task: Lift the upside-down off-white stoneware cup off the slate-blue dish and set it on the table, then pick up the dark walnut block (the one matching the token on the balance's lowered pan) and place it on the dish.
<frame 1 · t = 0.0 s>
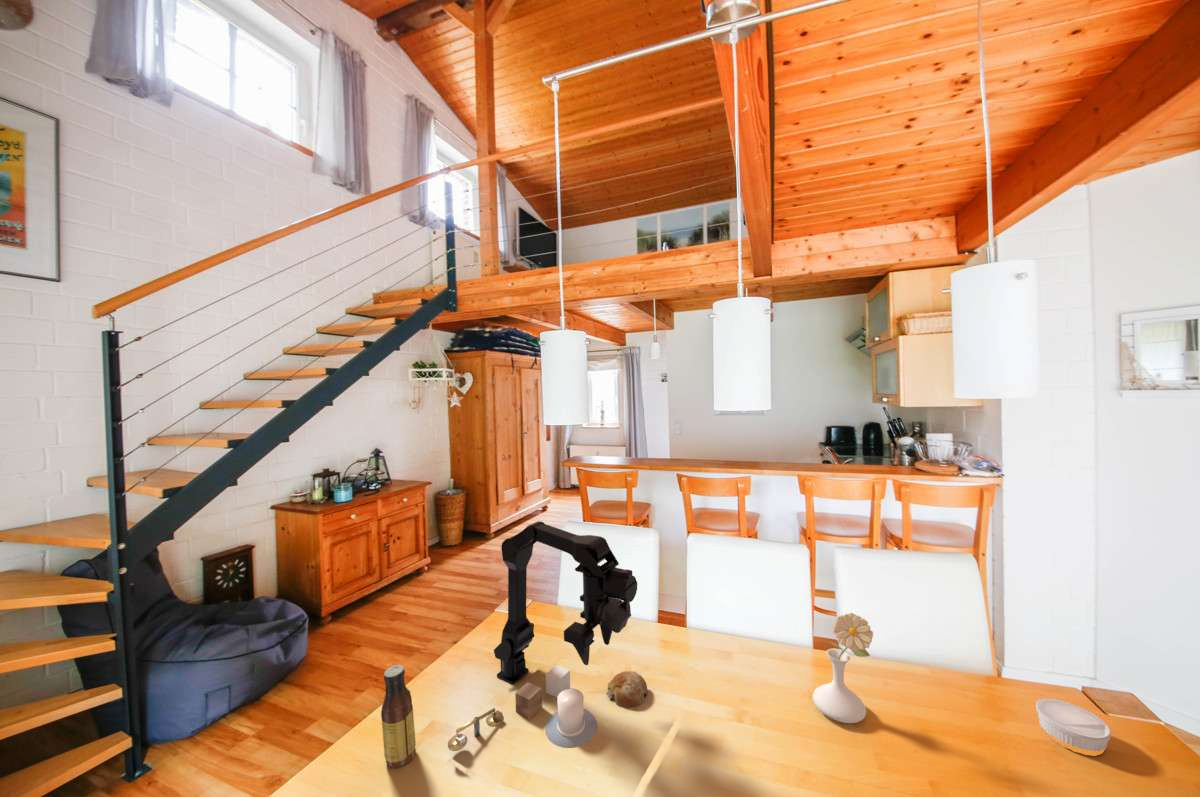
hand: (596, 654, 106), 15 cm above the table, fingers open, 9 cm apart
dish: (571, 731, 101), on the table
walnut block: (529, 714, 107), on the table
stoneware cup: (571, 726, 101), point 1 cm above the table, touching dish
ramekin: (1071, 740, 95), on the table
balance: (477, 740, 99), on the table
bread roll: (627, 699, 111), on the table
sauce bottle: (399, 758, 95), on the table
flower in vase: (842, 712, 105), on the table
beige block: (558, 694, 113), on the table
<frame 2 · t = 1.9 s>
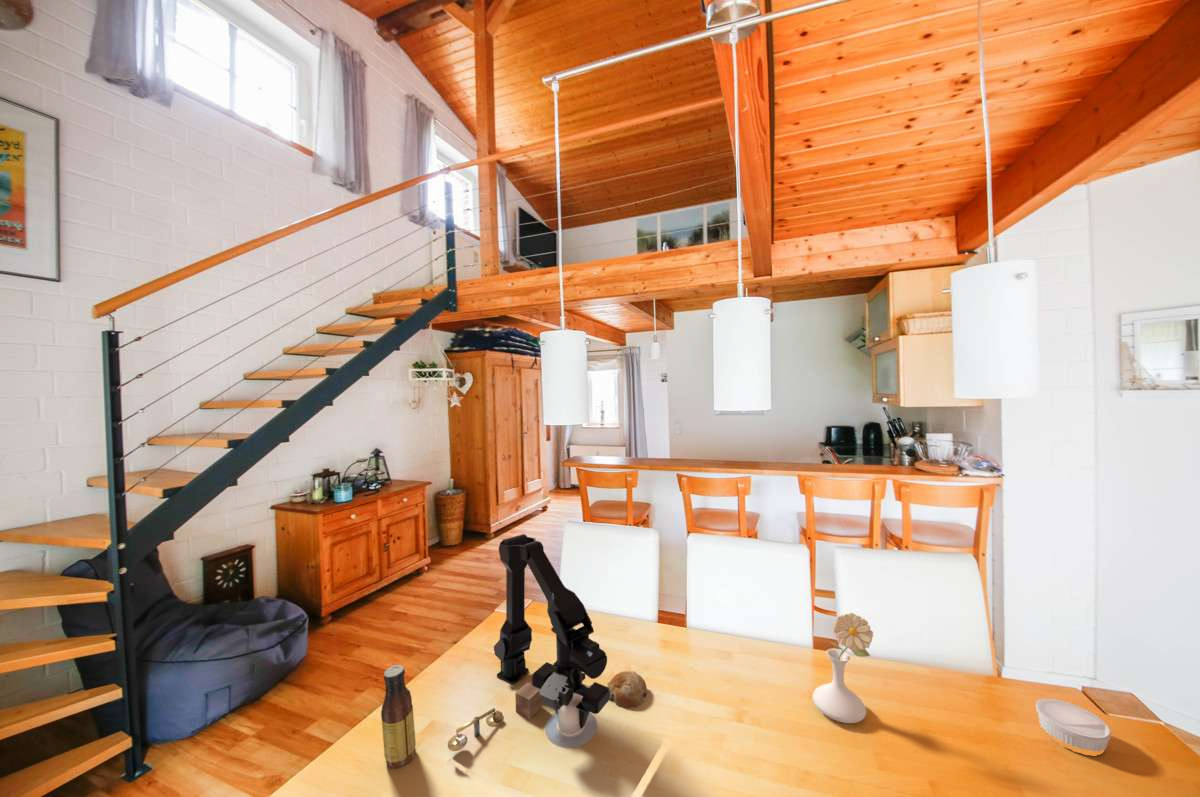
hand: (571, 721, 101), 2 cm above the table, fingers closed on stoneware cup, 6 cm apart
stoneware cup: (571, 726, 101), point 1 cm above the table, touching dish, gripper
everything else where it was.
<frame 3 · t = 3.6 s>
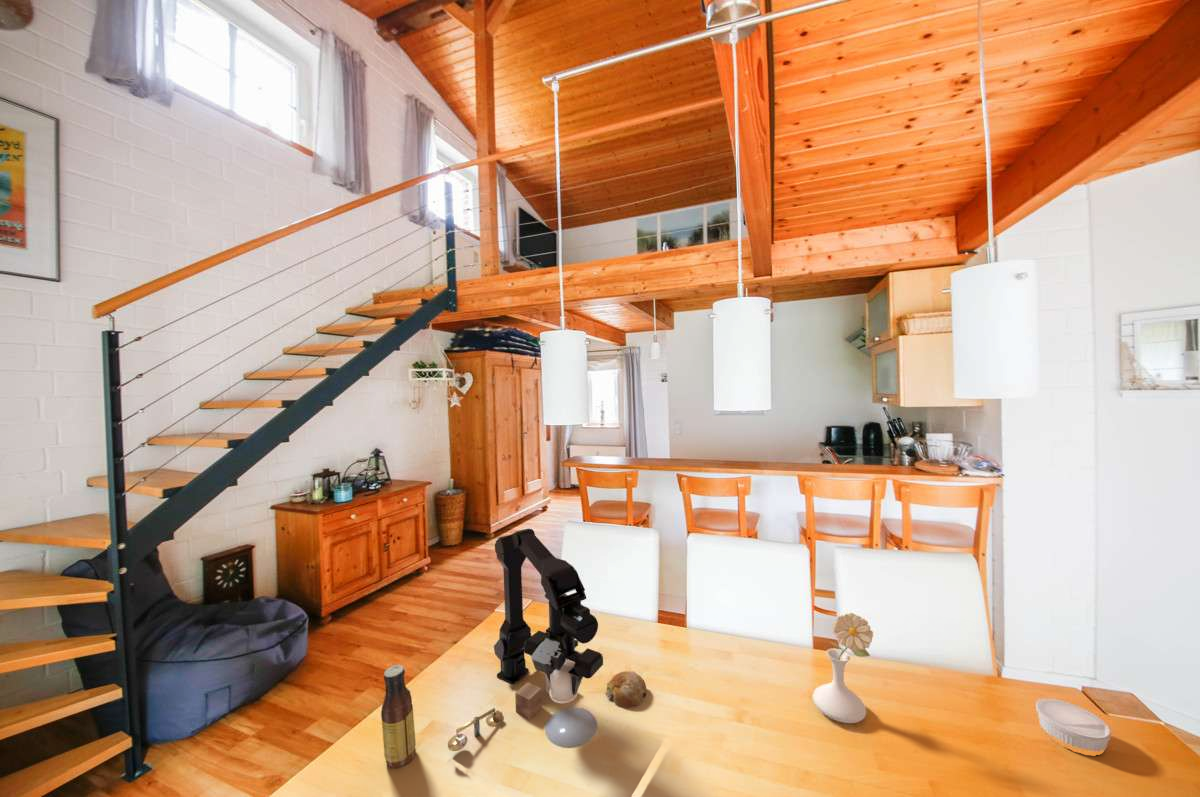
hand: (563, 688, 100), 11 cm above the table, fingers closed on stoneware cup, 6 cm apart
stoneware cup: (563, 693, 100), point 10 cm above the table, touching gripper
everything else where it was.
when the fingers open (3 cm above the table, at t = 5.5 s): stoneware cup drops 2 cm, on the table.
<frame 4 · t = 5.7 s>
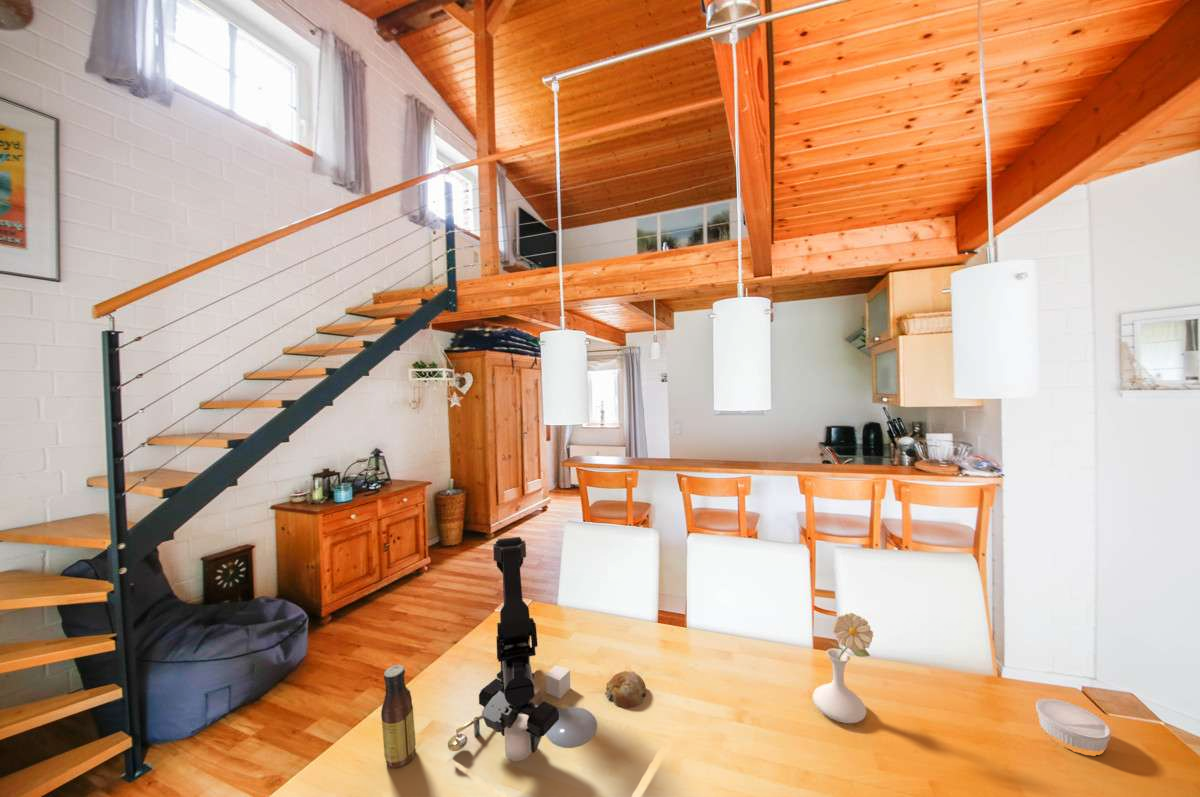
hand: (519, 742, 95), 3 cm above the table, fingers open, 8 cm apart
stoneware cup: (519, 754, 95), on the table
everything else where it was.
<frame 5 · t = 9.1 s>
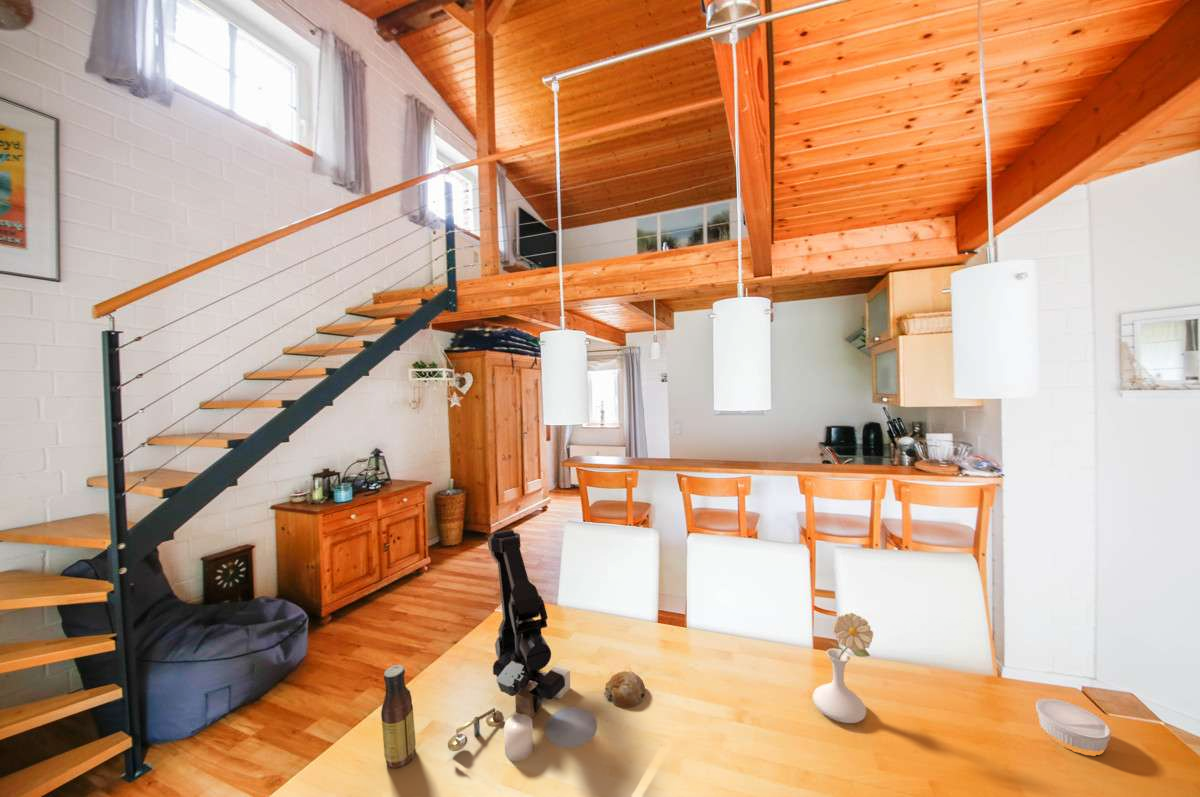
hand: (529, 708, 107), 2 cm above the table, fingers closed on walnut block, 4 cm apart
walnut block: (529, 714, 107), on the table, touching gripper
everything else where it was.
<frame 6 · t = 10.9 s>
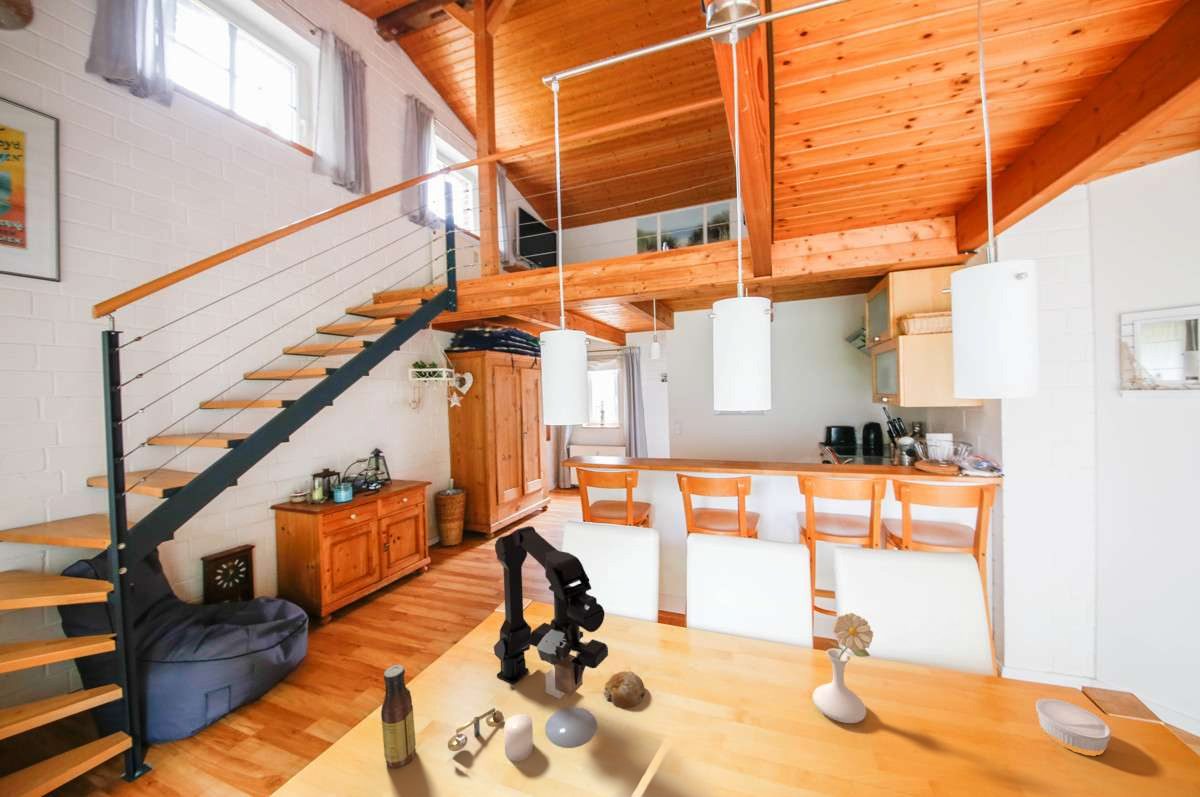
hand: (569, 680, 101), 12 cm above the table, fingers closed on walnut block, 4 cm apart
walnut block: (569, 686, 101), point 11 cm above the table, touching gripper
everything else where it was.
when the fingers open (4 cm above the table, at t = 12.7 s): walnut block drops 1 cm, resting on dish.
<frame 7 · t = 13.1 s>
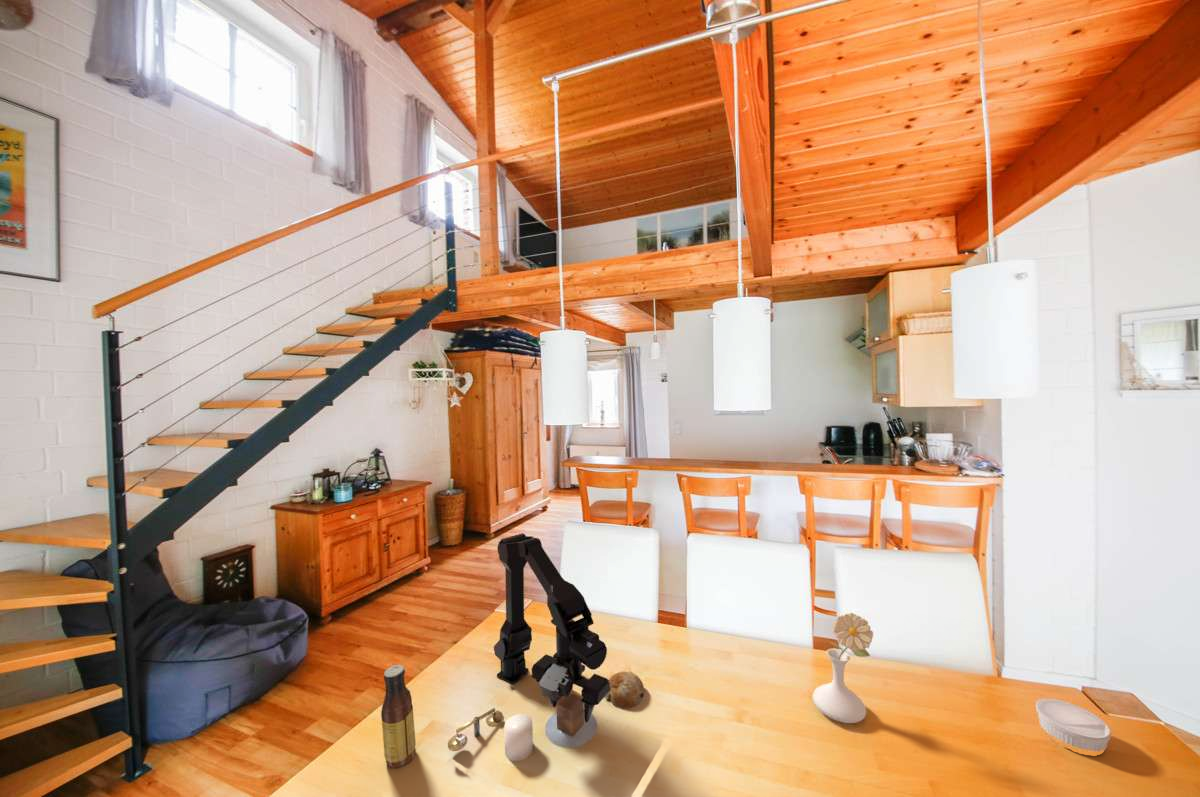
hand: (570, 713, 101), 4 cm above the table, fingers open, 9 cm apart
walnut block: (570, 726, 101), point 1 cm above the table, touching dish
everything else where it was.
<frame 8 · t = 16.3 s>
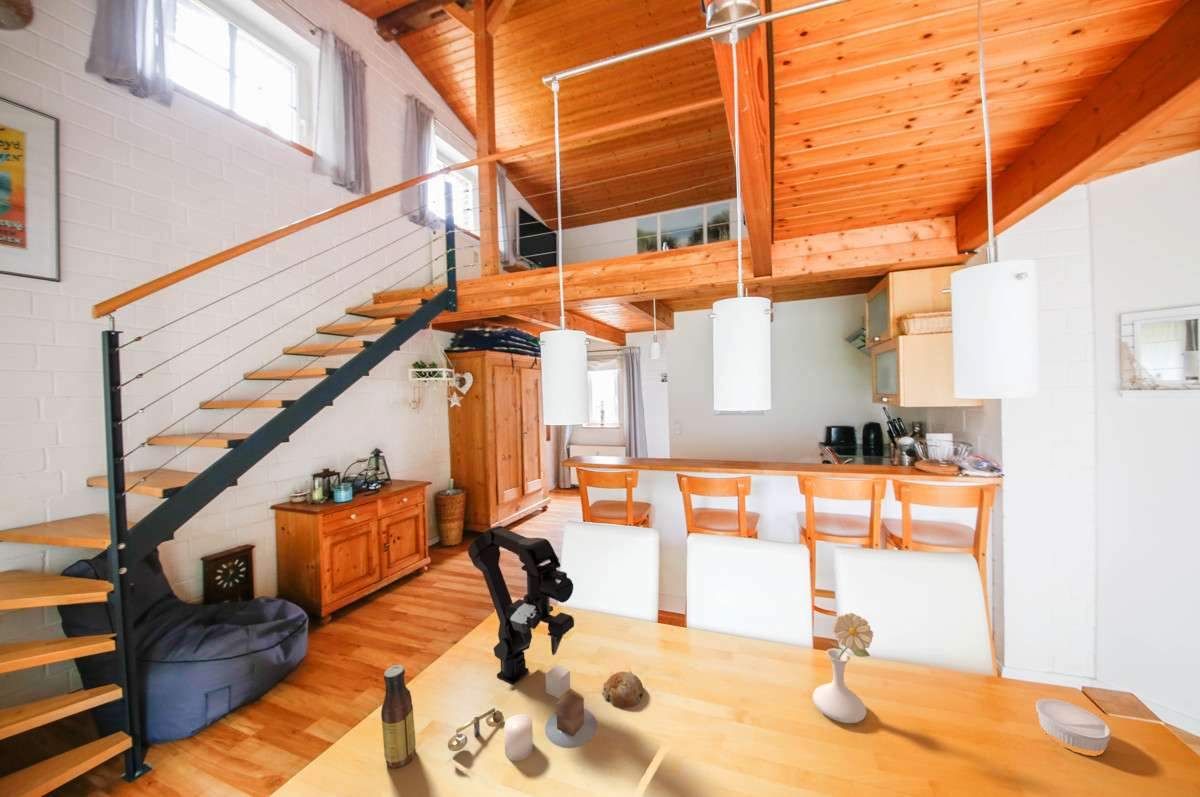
hand: (540, 648, 113), 12 cm above the table, fingers open, 9 cm apart
at the end: walnut block inside the target area on the dish (0.1 cm from its centre), point 1.2 cm above the dish's base; walnut block tilted 0°; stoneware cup moved 12.6 cm from its start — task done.
